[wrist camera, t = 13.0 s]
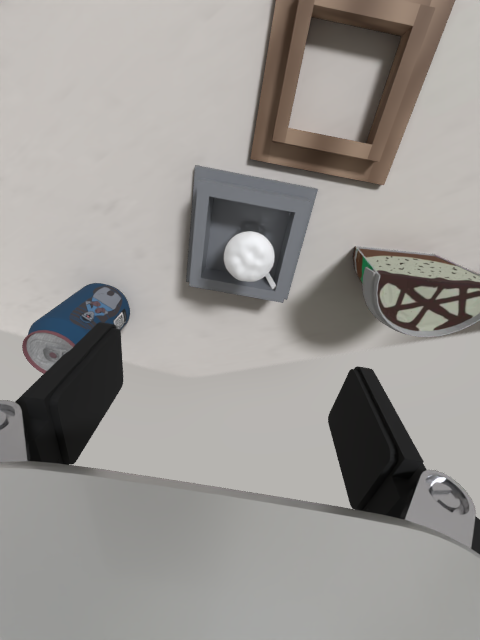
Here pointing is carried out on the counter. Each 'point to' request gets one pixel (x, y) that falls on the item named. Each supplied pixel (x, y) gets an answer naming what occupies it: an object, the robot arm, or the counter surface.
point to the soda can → (73, 323)
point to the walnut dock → (396, 102)
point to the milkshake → (250, 255)
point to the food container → (418, 291)
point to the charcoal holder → (237, 210)
